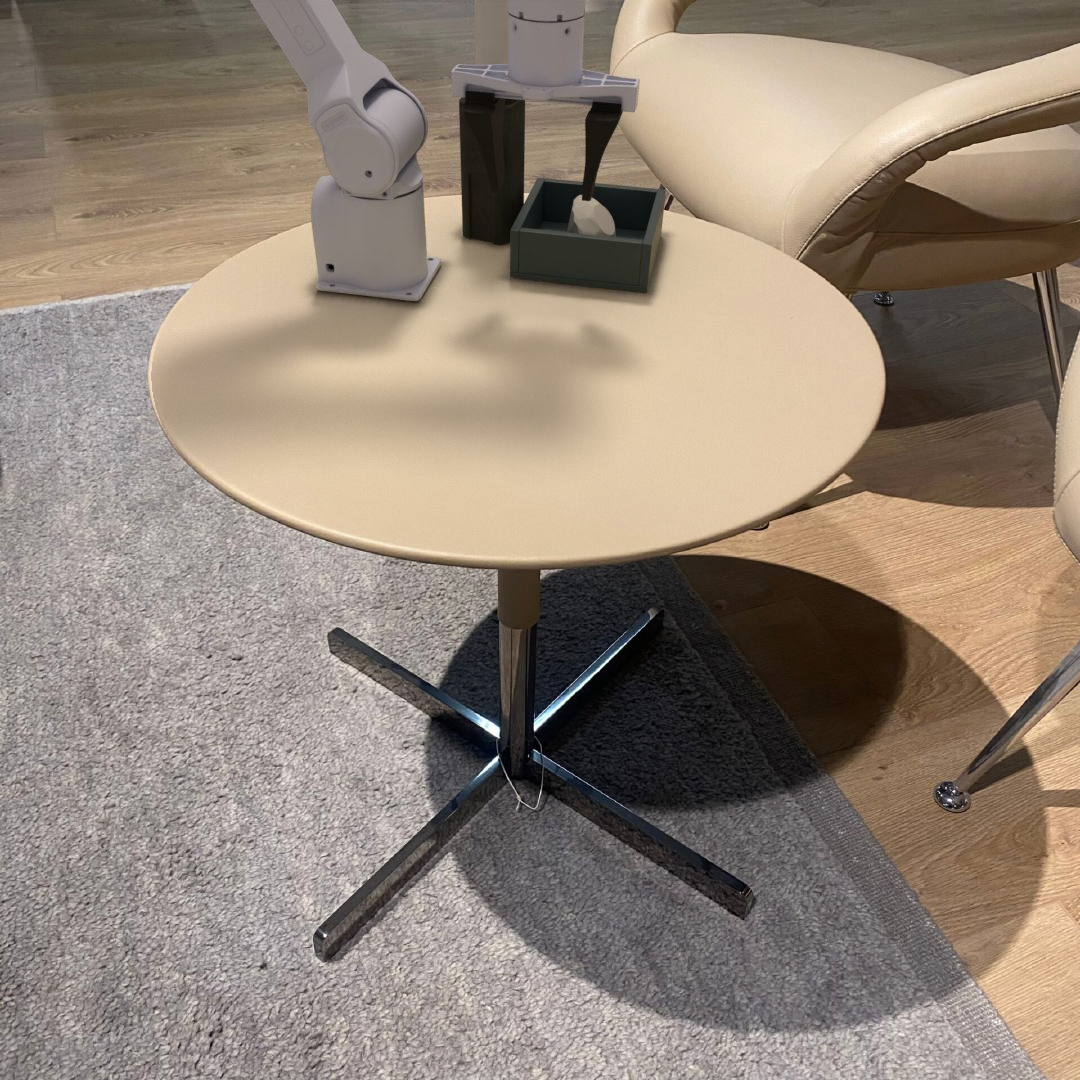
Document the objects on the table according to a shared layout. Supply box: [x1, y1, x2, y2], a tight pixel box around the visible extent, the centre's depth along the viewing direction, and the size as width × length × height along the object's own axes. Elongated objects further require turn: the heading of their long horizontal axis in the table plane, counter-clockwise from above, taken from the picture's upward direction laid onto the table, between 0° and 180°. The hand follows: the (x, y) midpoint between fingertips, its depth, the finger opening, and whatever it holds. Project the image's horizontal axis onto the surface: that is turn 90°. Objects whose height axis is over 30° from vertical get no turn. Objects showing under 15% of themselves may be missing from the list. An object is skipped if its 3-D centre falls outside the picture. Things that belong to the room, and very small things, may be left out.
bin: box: [509, 177, 667, 293], centre depth 96 cm, size 13×13×5 cm
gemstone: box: [567, 195, 616, 237], centre depth 96 cm, size 6×6×5 cm
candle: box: [458, 0, 526, 246], centre depth 92 cm, size 5×5×25 cm
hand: (542, 192), depth 85 cm, fingers open, 7 cm apart
